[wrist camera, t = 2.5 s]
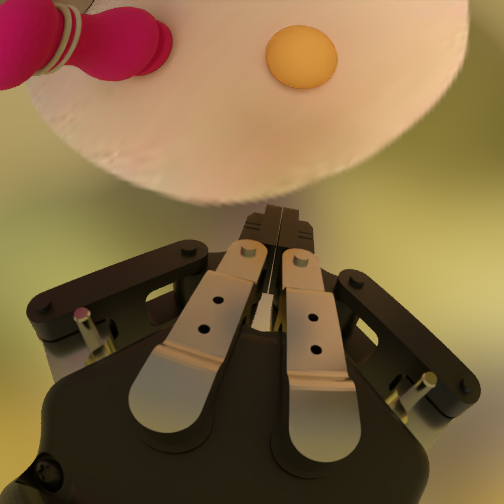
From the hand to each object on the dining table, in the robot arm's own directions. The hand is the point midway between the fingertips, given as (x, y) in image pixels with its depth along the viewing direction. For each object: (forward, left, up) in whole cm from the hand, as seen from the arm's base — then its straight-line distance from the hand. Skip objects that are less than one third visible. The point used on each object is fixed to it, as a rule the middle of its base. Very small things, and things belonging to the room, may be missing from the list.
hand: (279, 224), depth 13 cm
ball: (0, +9, -11) cm, 14 cm away
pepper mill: (-15, +10, -14) cm, 23 cm away
